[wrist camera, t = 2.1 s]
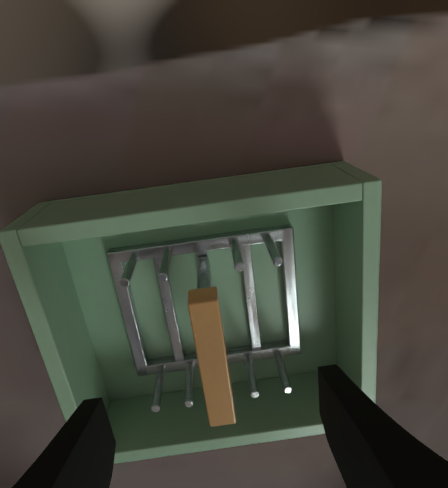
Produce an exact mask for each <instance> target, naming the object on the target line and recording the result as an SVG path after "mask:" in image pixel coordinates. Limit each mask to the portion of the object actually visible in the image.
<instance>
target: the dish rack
mask: <svg viewBox="0 0 448 488" xmlns="http://www.w3.org/2000/svg"><path fill="white" fill-rule="evenodd" d="M276 241H280V253H279V251H278V249H277V247H276V245H275V243H274V242H276ZM262 243H264V244H265V246H266V248H267V251H268V253H269V255H270V258H271V260H272V263H273V264H274V265H275V266H280V265H281V268H282V281H283V294H284V307H285V320H286V333H287V340H280V341H273V342H266V343H261V339H260V330H259V320H258V311H257V302H256V292H255V283H254V273H253V264H252V255H251V245H254V244H262ZM225 248H231V253H232V258H233V263H234V268H235V270H236V271H242V273H243V281H244V290H245V298H246V307H247V315H248V324H249V332H250V341H251V345H245V346H237V347H230V348H226V343H225V337H224V330H223V323H222V316H221V309H220V303H219V296H218V289H217V287H216V286H214V287H213V283H212V277H211V270H210V261H209V257H208V251H211V250H218V249H225ZM196 252H197V258H198V260H197V289H193V290H189V291H188V311H189V316H190V322H191V327H192V332H193V338H194V343H195V349H196V352H195V353H188V354H184V350H183V344H182V339H181V334H180V329H179V324H178V319H177V314H176V309H175V304H174V299H173V294H172V289H171V284H170V279H169V269H170V262H171V256H175V255H182V254H189V253H196ZM106 254H107V258H108V262H109V266H110V270H111V274H112V278H113V281H114V285H115V289H116V293H117V297H118V301H119V305H120V308H121V312H122V316H123V320H124V324H125V328H126V332H127V335H128V339H129V343H130V347H131V351H132V355H133V359H134V362H135V366H136V371H137V374H138V376H146V375H153V374H156V379H155V385H154V392H153V399H152V405H151V410H152V411H153V412H158V411H159V410H160V405H161V397H162V389H163V380H164V373H167V372H175V371H182V370H186V377H185V399H184V405H185V406H186V407H192V405H193V387H194V369H196V368H199V371H200V376H201V381H202V387H203V392H204V398H205V403H206V409H207V414H208V420H209V425H210V427H214V426H221V425H228V424H235V423H236V413H235V404H234V397H233V391H232V384H231V377H230V370H229V364H231V363H239V362H245V365H246V371H247V377H248V383H249V389H250V395H251V397H252V398H257V397H258V396H259V390H258V385H257V380H256V375H255V370H254V365H253V360H260V359H267V358H275V362H276V366H277V369H278V373H279V376H280V380H281V383H282V387H283V391H284V392H285V393H291V392H292V386H291V383H290V380H289V377H288V374H287V370H286V367H285V364H284V361H283V357H282V356H288V355H295V354H301V345H300V328H299V312H298V296H297V279H296V263H295V246H294V230H293V227H292V225H291V224H284V225H277V226H269V227H262V228H255V229H248V230H240V231H233V232H226V233H219V234H211V235H204V236H197V237H189V238H182V239H175V240H168V241H160V242H153V243H146V244H138V245H131V246H124V247H116V248H110V249H108V251H107V253H106ZM145 259H154V264H155V269H156V274H157V278H158V283H159V288H160V292H161V297H162V302H163V307H164V311H165V316H166V321H167V326H168V330H169V335H170V340H171V345H172V349H173V354H174V355H173V356H166V357H159V358H152V359H148V356H147V352H146V347H145V343H144V339H143V335H142V331H141V327H140V323H139V319H138V314H137V310H136V306H135V302H134V298H133V294H132V290H131V285H130V281H131V278H132V276H133V273H134V270H135V267H136V264H137V261H138V260H145ZM125 262H127V264H126V265H125Z"/></svg>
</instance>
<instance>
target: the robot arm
mask: <svg viewBox="0 0 448 488" xmlns="http://www.w3.org/2000/svg"><path fill="white" fill-rule="evenodd" d="M318 387H319V411H320V417H321V420H322V424H323V427H324V430H325V434H326V437H327V440H328V443H329V446H330V448H331V451H332V453H333V456H334V458H335V460H336V463H337V465H338V468H339V470H340V472H341V475H342V477H343V479H344V482H345V484H346V487H347V488H448V461H446V460H445V459H443V458H442V457H441V456H439V455H438V454H436V453H435V452H433V451H432V450H431V449H429V448H428V447H427V446H425V445H424V444H423V443H421V442H420V441H419V440H417V439H416V438H415V437H413V436H412V435H411V434H410V433H408V432H407V431H406V430H405V429H404V428H402V427H401V426H400V425H399V424H398V423H396V422H395V421H394V420H393V419H392V418H391V417H389V416H388V415H387V414H386V413H385V412H384V411H383V410H382V409H381V408H380V407H378V406H377V405H376V404H375V403H374V402H373V401H372V400H371V399H370V398H369V397H368V396H367V395H366V394H365V393H364V392H363V391H362V390H361V389H360V388H359V387H358V386H357V385H356V384H355V383H354V382H353V381H352V380H351V379H350V378H349V377H348V376H347V375H346V374H345V373H344V371H343V370H342V369H341V368H340V367H339V366H338V365H336V364H334V365H327V366H320V367H318ZM115 448H116V440H115V437H114V434H113V431H112V428H111V424H110V421H109V418H108V415H107V412H106V408H105V405H104V402H103V399H102V397H99V398H92V399H85V400H83V401H82V403H81V404H80V405H79V406H78V407H77V409H76V410H75V411H74V413H73V414H72V415H71V417H70V418H69V419H68V420H67V422H66V423H65V424H64V426H63V427H62V428H61V430H60V431H59V432H58V433H57V435H56V436H55V437H54V438H53V440H52V441H51V442H50V443H49V445H48V446H47V447H46V448H45V450H44V451H43V452H42V453H41V455H40V456H39V457H38V458H37V460H36V461H35V462H34V463H33V464H32V465H31V467H30V468H29V469H28V470H27V471H26V472H25V473H24V475H23V476H22V477H21V478H20V479H19V480H18V482H17V483H16V484H15V485H14V486H13V487H12V488H109V485H110V481H111V477H112V471H113V464H114V456H115Z"/></svg>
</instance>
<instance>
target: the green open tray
mask: <svg viewBox="0 0 448 488" xmlns="http://www.w3.org/2000/svg"><path fill="white" fill-rule="evenodd" d="M381 195H382V180H381V179H379V178H377V177H375V176H373V175H371V174H369V173H367V172H365V171H363V170H361V169H359V168H357V167H355V166H353V165H351V164H349V163H347V162H345V161H339V162H332V163H324V164H317V165H310V166H302V167H295V168H287V169H280V170H273V171H265V172H258V173H251V174H243V175H236V176H229V177H221V178H214V179H207V180H199V181H192V182H185V183H177V184H170V185H163V186H155V187H148V188H141V189H133V190H126V191H119V192H111V193H104V194H97V195H89V196H82V197H75V198H67V199H60V200H53V201H45V202H39V203H38V204H36V205H35V206H33V207H32V208H31V209H29V210H28V211H27V212H25V213H24V214H22V215H21V216H20V217H18V218H17V219H15V220H14V221H13V222H11V223H10V224H8V225H7V226H6V227H4V228H3V229H1V230H0V243H1V246H2V249H3V252H4V254H5V257H6V260H7V262H8V265H9V268H10V271H11V273H12V276H13V279H14V282H15V284H16V287H17V290H18V293H19V295H20V298H21V301H22V303H23V306H24V309H25V312H26V314H27V317H28V320H29V323H30V325H31V328H32V331H33V333H34V336H35V339H36V342H37V344H38V347H39V350H40V353H41V355H42V358H43V361H44V363H45V366H46V369H47V372H48V374H49V377H50V380H51V383H52V385H53V388H54V391H55V394H56V396H57V399H58V402H59V404H60V407H61V410H62V413H63V415H64V418H65V421H66V422H67V420H68V419H69V418H70V417H71V415H72V414H73V413H74V411H75V410H76V409H77V407H78V406H79V405H80V404H81V403H82V401H83V400H85V399H92V398H99V397H102V399H103V402H104V405H105V408H106V412H107V415H108V418H109V421H110V424H111V428H112V431H113V434H114V437H115V440H116V448H115V456H114V464H115V463H122V462H129V461H136V460H143V459H150V458H157V457H164V456H171V455H178V454H185V453H192V452H199V451H207V450H214V449H221V448H228V447H235V446H242V445H249V444H256V443H263V442H270V441H277V440H284V439H291V438H298V437H305V436H312V435H319V434H325V430H324V427H323V424H322V420H321V417H320V411H319V387H318V367H320V366H327V365H334V364H336V365H338V366H339V367H340V368H341V369H342V370H343V371H344V373H345V374H346V375H347V376H348V377H349V378H350V379H351V380H352V381H353V382H354V383H355V384H356V385H357V386H358V387H359V388H360V389H361V390H362V391H363V392H364V393H365V394H366V395H367V396H368V397H369V398H370V399H371V400H372V401H373V402H374V403H375V404H376V372H377V336H378V301H379V266H380V231H381ZM284 224H291V225H292V227H293V230H294V246H295V263H296V279H297V296H298V312H299V328H300V345H301V354H295V355H288V356H282V357H283V361H284V364H285V367H286V370H287V374H288V377H289V380H290V383H291V386H292V392H291V393H285V392H284V391H283V387H282V383H281V380H280V376H279V373H278V369H277V366H276V362H275V358H267V359H260V360H253V365H254V370H255V375H256V380H257V385H258V390H259V396H258V397H257V398H252V397H251V395H250V389H249V383H248V377H247V371H246V365H245V362H239V363H231V364H229V370H230V377H231V384H232V391H233V397H234V404H235V413H236V423H235V424H228V425H221V426H214V427H210V425H209V420H208V414H207V409H206V403H205V398H204V392H203V387H202V381H201V376H200V371H199V368H196V369H194V387H193V405H192V407H186V406H185V405H184V399H185V377H186V370H182V371H175V372H167V373H164V380H163V389H162V397H161V405H160V410H159V411H158V412H153V411H152V410H151V405H152V399H153V392H154V385H155V379H156V374H153V375H146V376H138V374H137V371H136V366H135V362H134V359H133V355H132V351H131V347H130V343H129V339H128V335H127V332H126V328H125V324H124V320H123V316H122V312H121V308H120V305H119V301H118V297H117V293H116V289H115V285H114V281H113V278H112V274H111V270H110V266H109V262H108V258H107V254H106V253H107V251H108V249H110V248H116V247H124V246H131V245H138V244H146V243H153V242H160V241H168V240H175V239H182V238H189V237H197V236H204V235H211V234H219V233H226V232H233V231H240V230H248V229H255V228H262V227H269V226H277V225H284ZM274 243H275V245H276V247H277V249H278V251H279V253H280V241H276V242H274ZM251 255H252V264H253V273H254V283H255V292H256V302H257V311H258V320H259V330H260V339H261V343H266V342H273V341H280V340H287V333H286V320H285V307H284V294H283V281H282V268H281V265H280V266H275V265H274V264H273V263H272V260H271V258H270V255H269V253H268V251H267V248H266V246H265V244H264V243H262V244H254V245H251ZM208 257H209V261H210V270H211V277H212V283H213V287H214V286H216V287H217V289H218V296H219V303H220V309H221V316H222V323H223V330H224V337H225V343H226V348H230V347H237V346H245V345H251V341H250V332H249V324H248V315H247V307H246V298H245V290H244V281H243V273H242V271H236V270H235V268H234V263H233V258H232V253H231V248H225V249H218V250H211V251H208ZM197 260H198V258H197V252H196V253H189V254H182V255H175V256H171V262H170V269H169V279H170V284H171V289H172V294H173V299H174V304H175V309H176V314H177V319H178V324H179V329H180V334H181V339H182V344H183V350H184V354H188V353H195V352H196V349H195V343H194V338H193V332H192V327H191V322H190V316H189V311H188V291H189V290H193V289H197ZM126 264H127V262H125V265H126ZM130 285H131V290H132V294H133V298H134V302H135V306H136V310H137V314H138V319H139V323H140V327H141V331H142V335H143V339H144V343H145V347H146V352H147V356H148V359H152V358H159V357H166V356H173V355H174V354H173V349H172V345H171V340H170V335H169V330H168V326H167V321H166V316H165V311H164V307H163V302H162V297H161V292H160V288H159V283H158V278H157V274H156V269H155V264H154V259H145V260H138V261H137V264H136V267H135V270H134V273H133V276H132V278H131V281H130Z"/></svg>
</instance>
